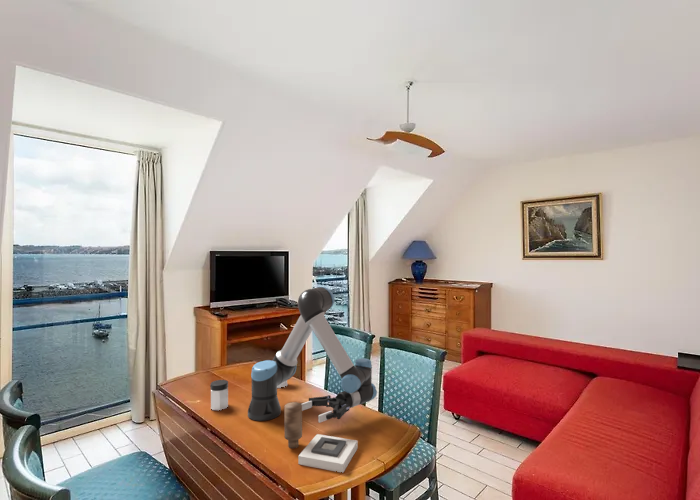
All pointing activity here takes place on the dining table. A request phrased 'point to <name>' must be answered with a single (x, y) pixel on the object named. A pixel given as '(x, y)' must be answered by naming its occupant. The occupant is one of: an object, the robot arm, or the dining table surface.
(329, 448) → the frame
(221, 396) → the jar
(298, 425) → the peg
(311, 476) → the dining table surface
